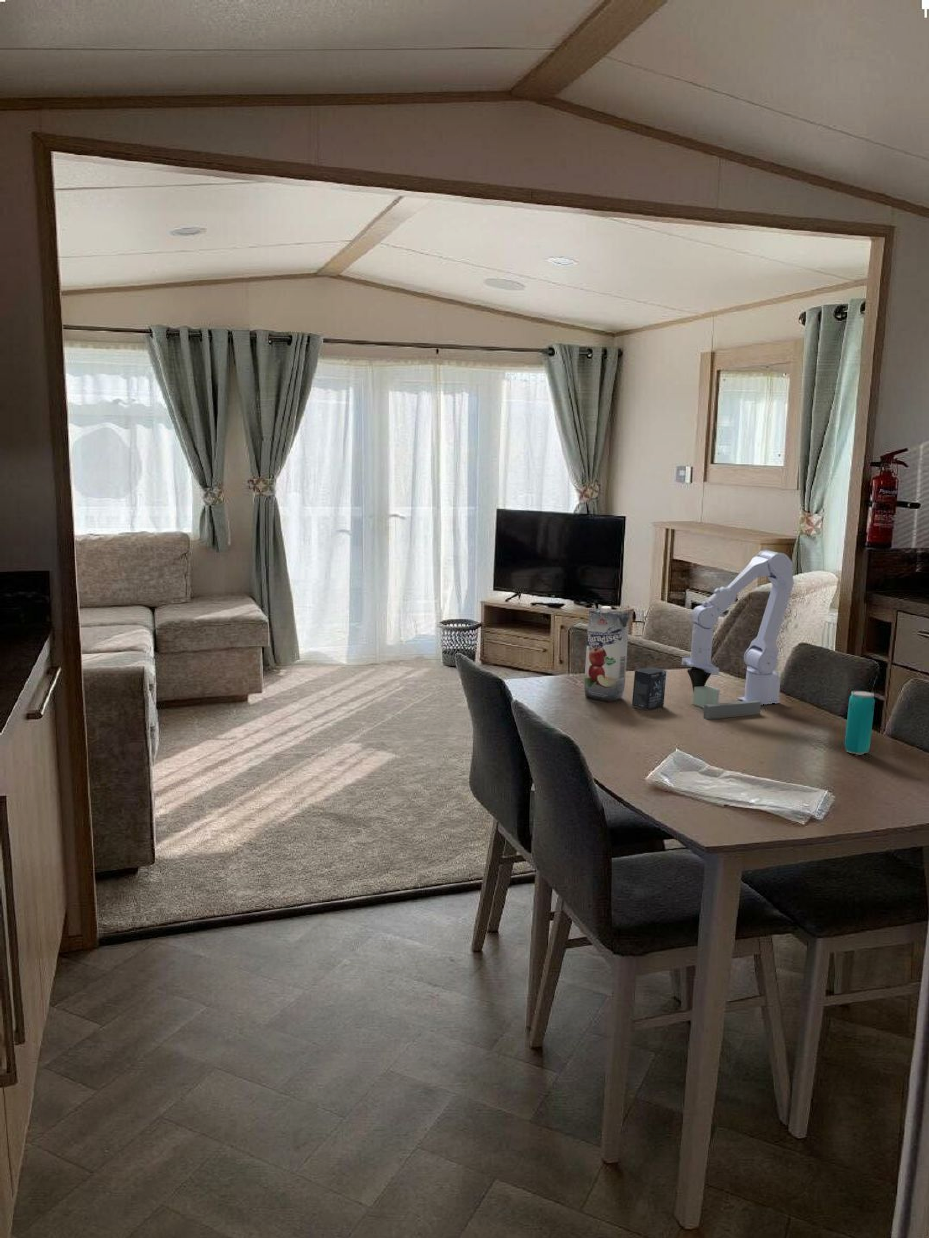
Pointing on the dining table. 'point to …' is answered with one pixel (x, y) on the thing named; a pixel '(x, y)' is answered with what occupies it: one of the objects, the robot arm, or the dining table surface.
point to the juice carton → (606, 653)
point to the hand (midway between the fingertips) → (697, 693)
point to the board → (732, 709)
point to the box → (649, 688)
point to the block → (705, 696)
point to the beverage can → (859, 722)
